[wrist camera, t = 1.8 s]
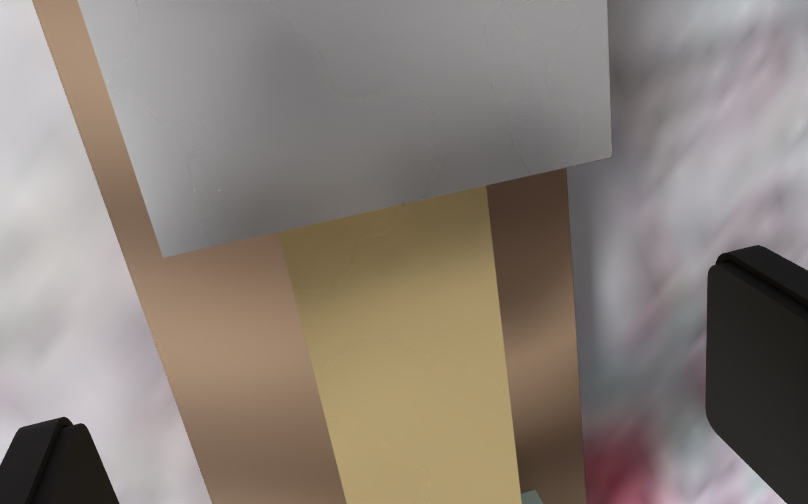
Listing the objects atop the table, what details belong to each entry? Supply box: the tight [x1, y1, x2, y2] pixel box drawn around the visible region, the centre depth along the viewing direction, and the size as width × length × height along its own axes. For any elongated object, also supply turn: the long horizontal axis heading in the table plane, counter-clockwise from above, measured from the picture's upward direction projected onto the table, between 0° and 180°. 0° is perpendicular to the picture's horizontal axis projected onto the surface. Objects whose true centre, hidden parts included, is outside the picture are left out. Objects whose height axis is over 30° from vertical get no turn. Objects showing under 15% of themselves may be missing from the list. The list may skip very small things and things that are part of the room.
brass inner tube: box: [279, 186, 522, 504], centre depth 10 cm, size 20×3×3 cm, turn 9°
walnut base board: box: [32, 0, 587, 504], centre depth 16 cm, size 34×10×2 cm, turn 9°
